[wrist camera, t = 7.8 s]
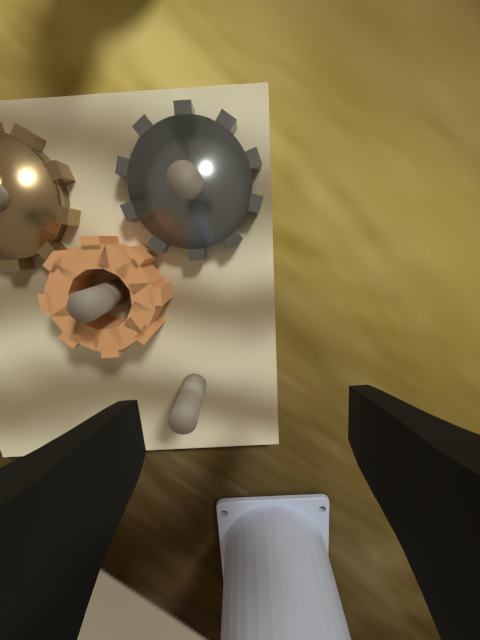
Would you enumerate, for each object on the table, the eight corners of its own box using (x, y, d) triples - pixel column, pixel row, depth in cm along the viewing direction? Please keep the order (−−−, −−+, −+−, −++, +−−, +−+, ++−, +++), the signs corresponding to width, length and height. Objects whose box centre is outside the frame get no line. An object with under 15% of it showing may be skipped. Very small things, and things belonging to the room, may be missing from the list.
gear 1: (91, 265, 17) (75, 267, 15) (-35, 272, 17) (-62, 276, 16) (64, 118, 15) (44, 105, 14) (-76, 128, 15) (-111, 115, 14)
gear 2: (263, 254, 17) (265, 256, 16) (136, 262, 17) (128, 264, 16) (258, 105, 15) (259, 94, 14) (115, 115, 15) (104, 105, 14)
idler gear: (177, 339, 18) (168, 354, 16) (76, 344, 18) (52, 360, 16) (165, 233, 17) (153, 232, 14) (54, 239, 17) (24, 240, 14)
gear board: (276, 432, 21) (288, 493, 16) (15, 445, 21) (-54, 508, 16) (266, 93, 16) (277, 27, 11) (-78, 116, 16) (-220, 62, 11)
